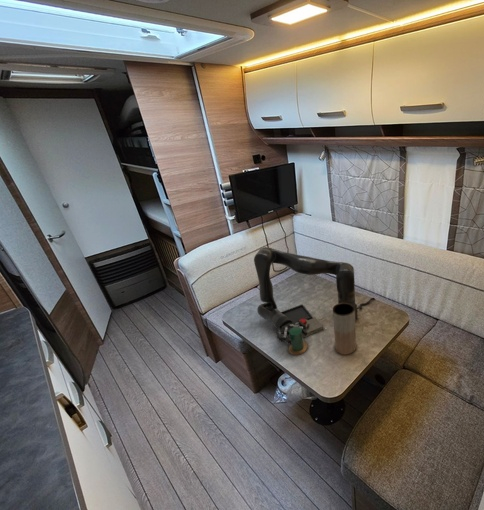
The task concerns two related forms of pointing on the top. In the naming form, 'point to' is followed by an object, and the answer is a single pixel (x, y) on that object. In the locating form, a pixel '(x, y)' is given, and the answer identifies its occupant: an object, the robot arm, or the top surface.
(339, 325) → the planter
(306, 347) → the trivet
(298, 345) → the green peg
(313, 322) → the box
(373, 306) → the top surface
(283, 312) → the baking tray
